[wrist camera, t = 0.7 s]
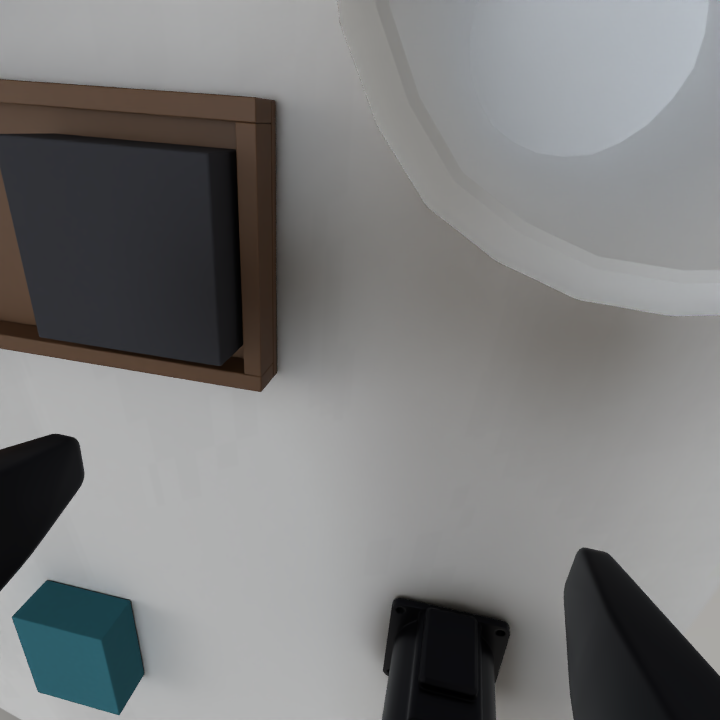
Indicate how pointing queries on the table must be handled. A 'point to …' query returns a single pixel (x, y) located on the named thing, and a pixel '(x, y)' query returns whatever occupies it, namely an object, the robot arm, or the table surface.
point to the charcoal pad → (128, 242)
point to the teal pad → (80, 646)
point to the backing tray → (173, 126)
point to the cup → (560, 135)
